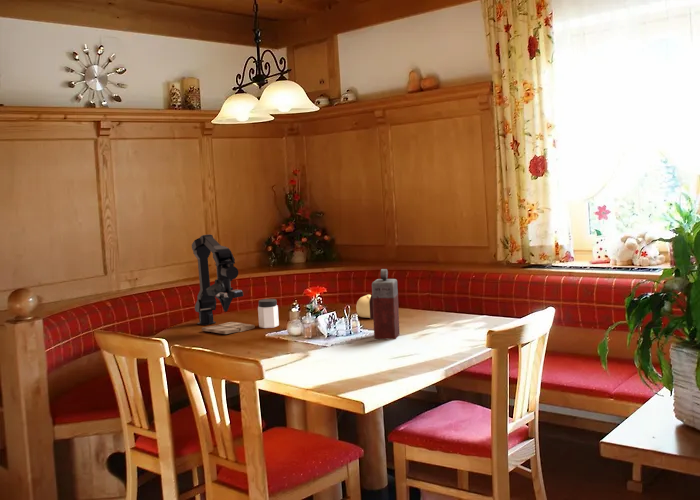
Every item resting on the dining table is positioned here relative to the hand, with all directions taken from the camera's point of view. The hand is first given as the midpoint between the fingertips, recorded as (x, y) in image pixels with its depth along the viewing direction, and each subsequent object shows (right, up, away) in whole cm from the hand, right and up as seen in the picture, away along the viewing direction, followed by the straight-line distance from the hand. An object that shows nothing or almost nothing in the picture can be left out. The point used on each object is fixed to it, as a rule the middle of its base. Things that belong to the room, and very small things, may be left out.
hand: (225, 311), depth 340 cm
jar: (+18, -8, +10) cm, 22 cm away
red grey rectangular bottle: (+69, -9, -23) cm, 73 cm away
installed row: (+3, -8, +9) cm, 13 cm away
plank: (-3, -9, +2) cm, 9 cm away
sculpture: (+64, -4, +19) cm, 67 cm away
